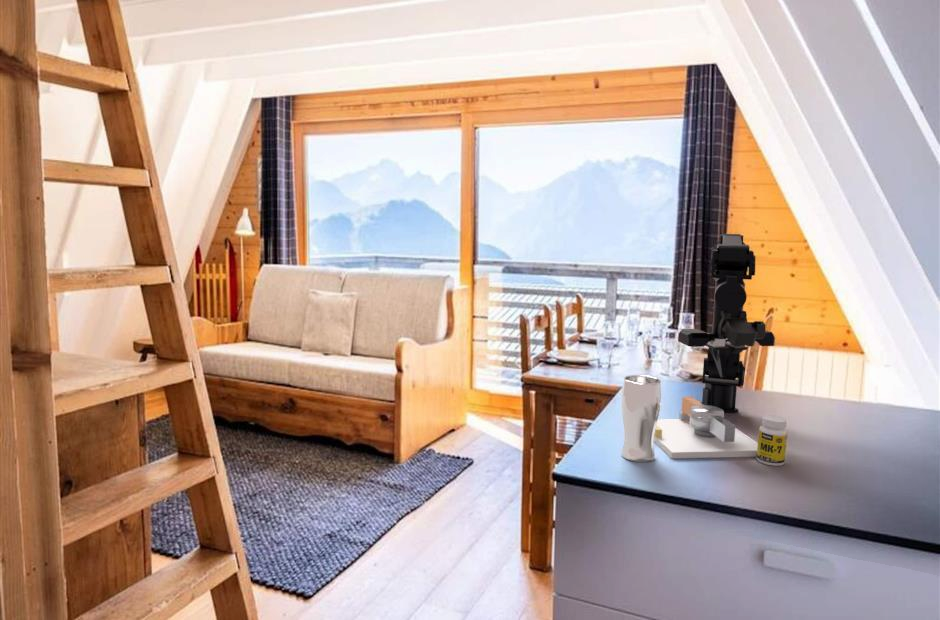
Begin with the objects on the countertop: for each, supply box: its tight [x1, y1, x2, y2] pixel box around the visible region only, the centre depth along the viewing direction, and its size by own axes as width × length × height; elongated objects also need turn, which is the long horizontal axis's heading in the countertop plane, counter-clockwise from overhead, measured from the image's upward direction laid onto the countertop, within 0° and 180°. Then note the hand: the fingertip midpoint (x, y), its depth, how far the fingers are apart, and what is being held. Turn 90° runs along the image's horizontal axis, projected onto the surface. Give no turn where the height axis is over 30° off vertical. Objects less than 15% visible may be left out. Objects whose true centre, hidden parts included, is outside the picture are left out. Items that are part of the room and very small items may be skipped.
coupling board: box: [653, 411, 758, 460], centre depth 130 cm, size 19×19×3 cm
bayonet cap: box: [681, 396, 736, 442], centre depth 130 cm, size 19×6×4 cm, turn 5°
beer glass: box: [621, 374, 662, 463], centre depth 120 cm, size 7×7×15 cm
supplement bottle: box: [756, 414, 788, 467], centre depth 118 cm, size 5×5×8 cm
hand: (723, 377), depth 136 cm, fingers closed
